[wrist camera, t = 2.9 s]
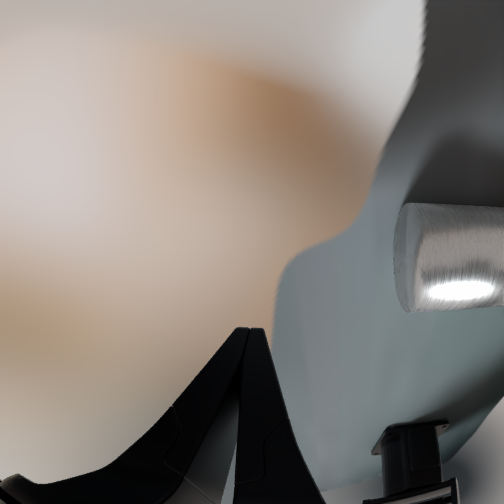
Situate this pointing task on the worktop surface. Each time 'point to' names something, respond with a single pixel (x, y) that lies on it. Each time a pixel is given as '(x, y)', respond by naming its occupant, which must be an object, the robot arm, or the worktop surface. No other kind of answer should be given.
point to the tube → (449, 257)
